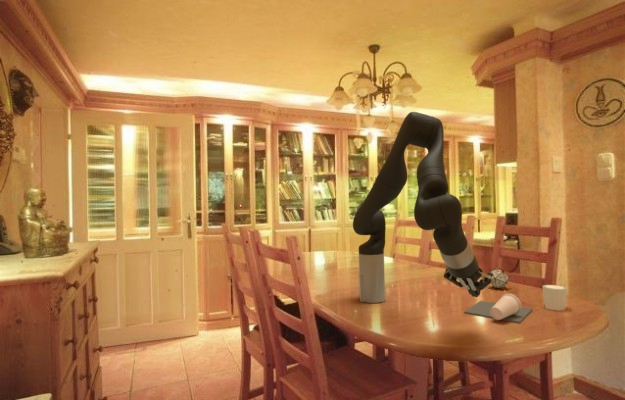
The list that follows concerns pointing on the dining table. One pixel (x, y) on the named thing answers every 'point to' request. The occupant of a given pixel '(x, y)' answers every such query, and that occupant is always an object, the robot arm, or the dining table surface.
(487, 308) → the mat
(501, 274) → the game die
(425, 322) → the dining table surface
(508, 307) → the smoothie
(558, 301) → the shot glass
